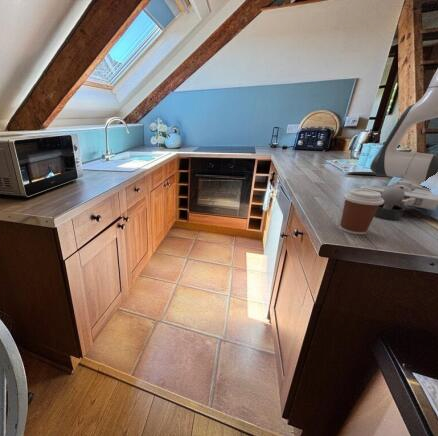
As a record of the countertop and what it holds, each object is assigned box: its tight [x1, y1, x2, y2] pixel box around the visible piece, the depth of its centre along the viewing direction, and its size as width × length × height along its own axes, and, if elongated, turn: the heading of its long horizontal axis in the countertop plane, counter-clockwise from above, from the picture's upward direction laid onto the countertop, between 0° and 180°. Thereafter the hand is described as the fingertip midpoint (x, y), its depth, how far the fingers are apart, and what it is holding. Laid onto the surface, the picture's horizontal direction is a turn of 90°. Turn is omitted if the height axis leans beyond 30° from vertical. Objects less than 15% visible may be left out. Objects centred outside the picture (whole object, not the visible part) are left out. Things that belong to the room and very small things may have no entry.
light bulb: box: [381, 186, 405, 210], centre depth 82 cm, size 6×5×10 cm
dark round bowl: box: [374, 203, 406, 221], centre depth 83 cm, size 8×8×4 cm
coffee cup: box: [339, 188, 384, 235], centre depth 72 cm, size 9×9×12 cm
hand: (390, 200), depth 81 cm, fingers closed on light bulb, 5 cm apart
